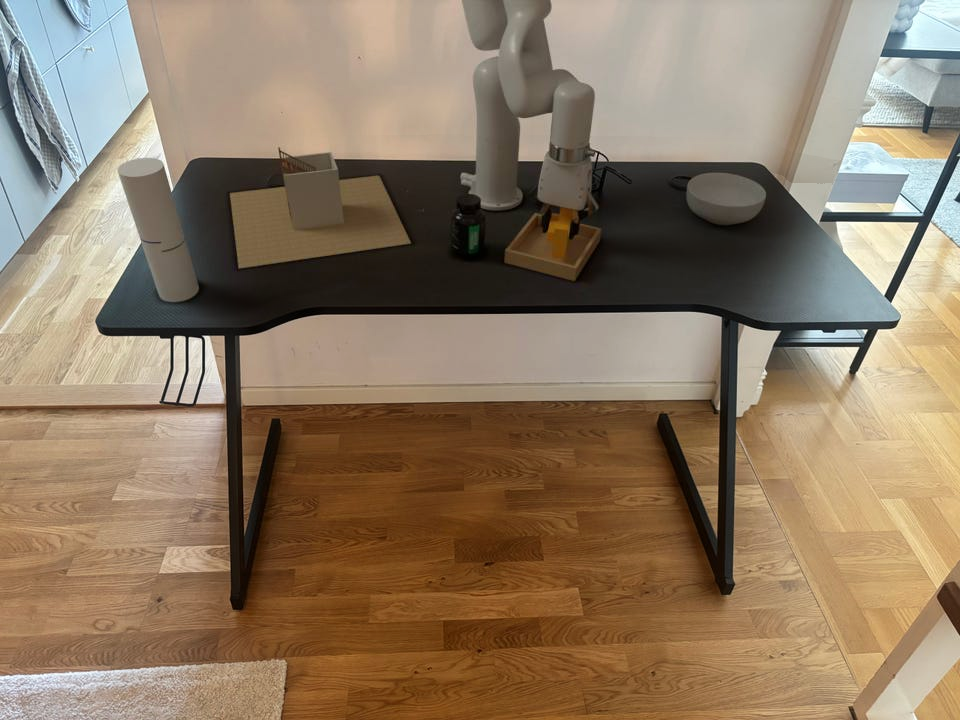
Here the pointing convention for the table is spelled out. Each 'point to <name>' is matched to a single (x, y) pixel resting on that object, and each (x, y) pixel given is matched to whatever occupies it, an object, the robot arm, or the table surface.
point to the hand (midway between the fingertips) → (559, 232)
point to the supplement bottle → (468, 227)
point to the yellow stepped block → (559, 232)
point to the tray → (537, 251)
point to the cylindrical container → (159, 228)
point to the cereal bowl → (724, 198)
